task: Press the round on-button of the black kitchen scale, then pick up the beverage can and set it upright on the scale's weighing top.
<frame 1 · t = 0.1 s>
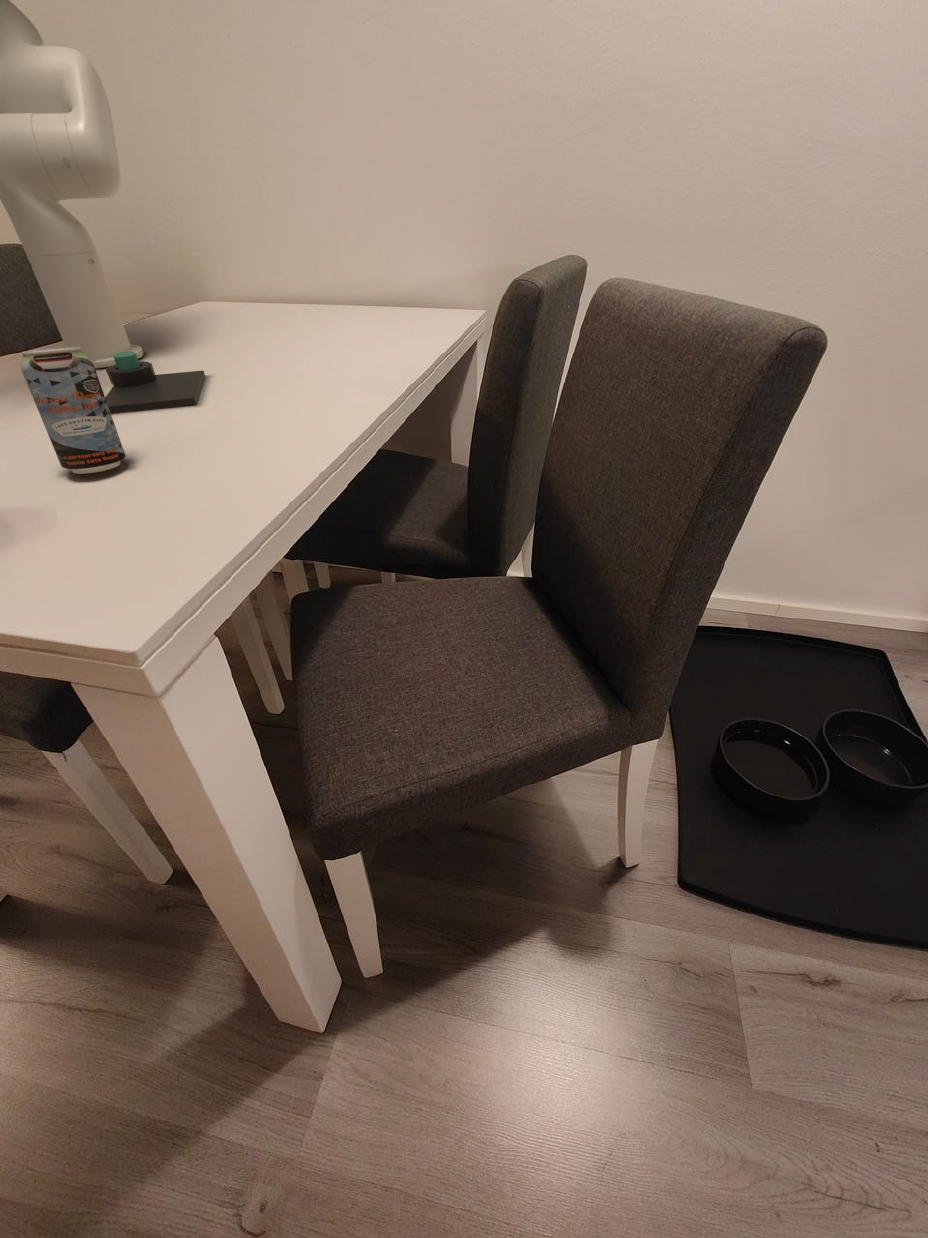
scale: (157, 394, 81), on the table
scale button: (127, 361, 82), point 4 cm above the table, slide at 0.1 cm
beverage can: (101, 469, 61), on the table
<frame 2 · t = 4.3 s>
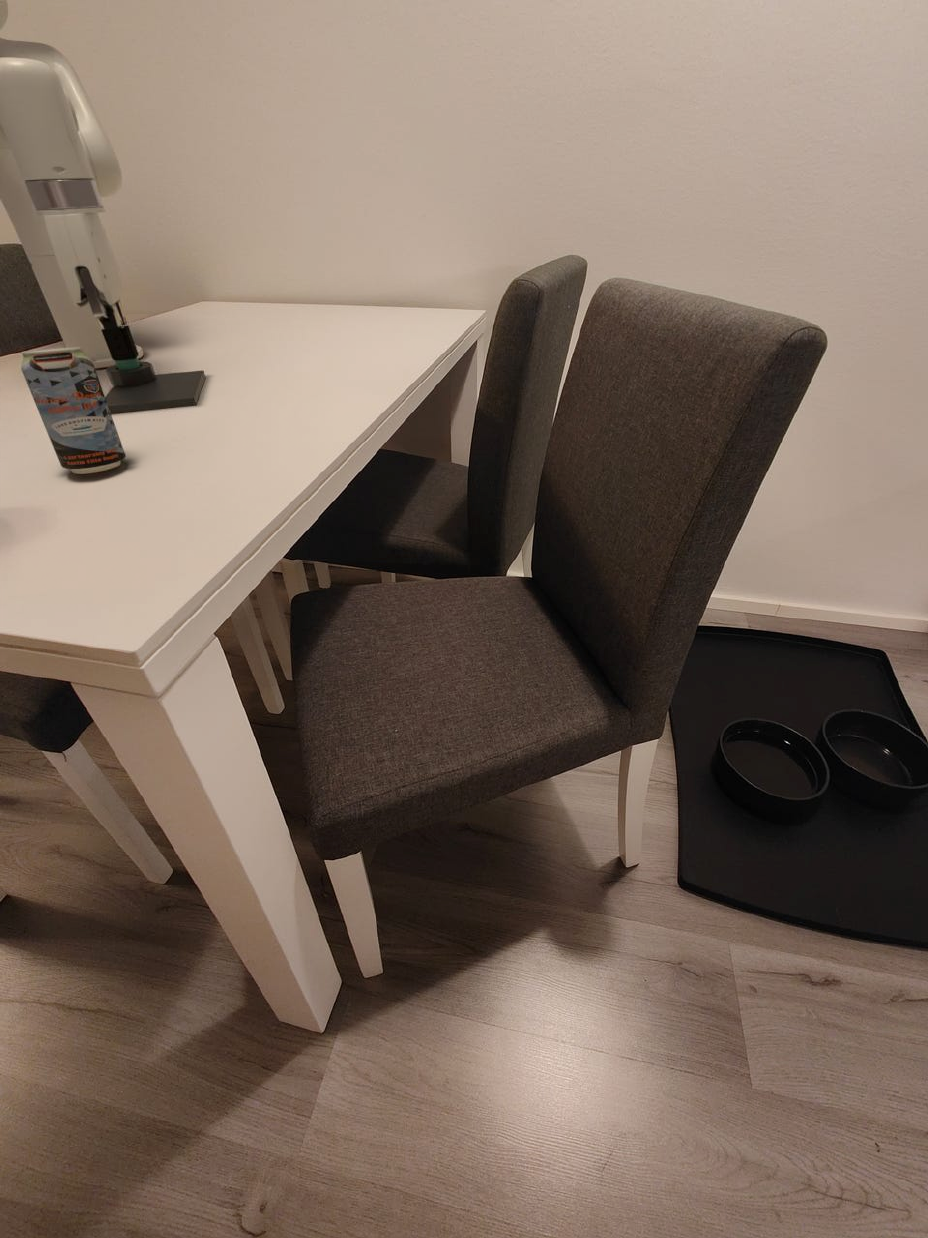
hand: (126, 357, 81), 4 cm above the table, tool pointing down, fingers closed
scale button: (128, 365, 82), point 3 cm above the table, slide at -0.4 cm, touching gripper
everything else where it was.
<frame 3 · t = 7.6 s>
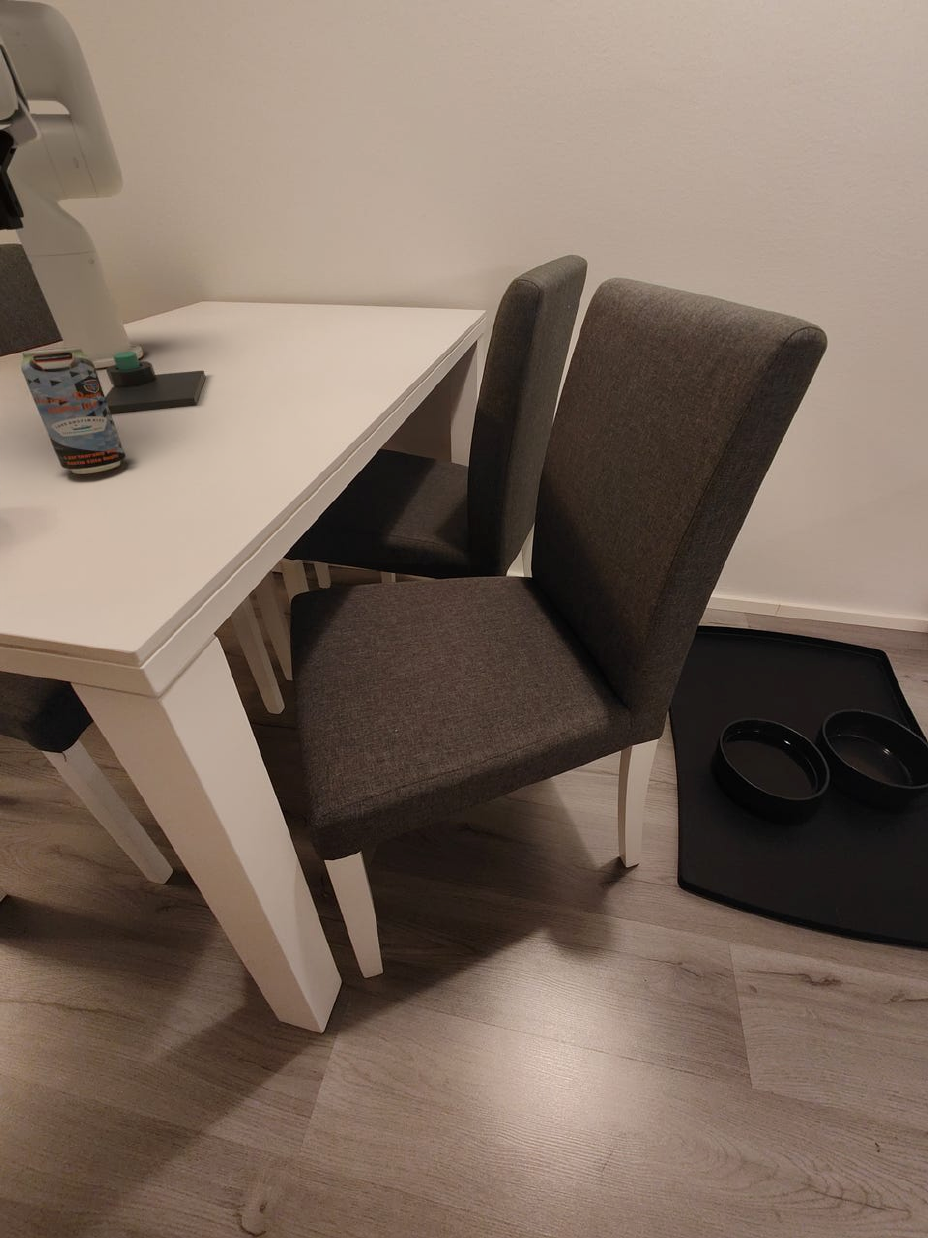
hand: (8, 228, 51), 21 cm above the table, tool pointing down, fingers closed
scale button: (127, 361, 82), point 4 cm above the table, slide at 0.1 cm
everything else where it was.
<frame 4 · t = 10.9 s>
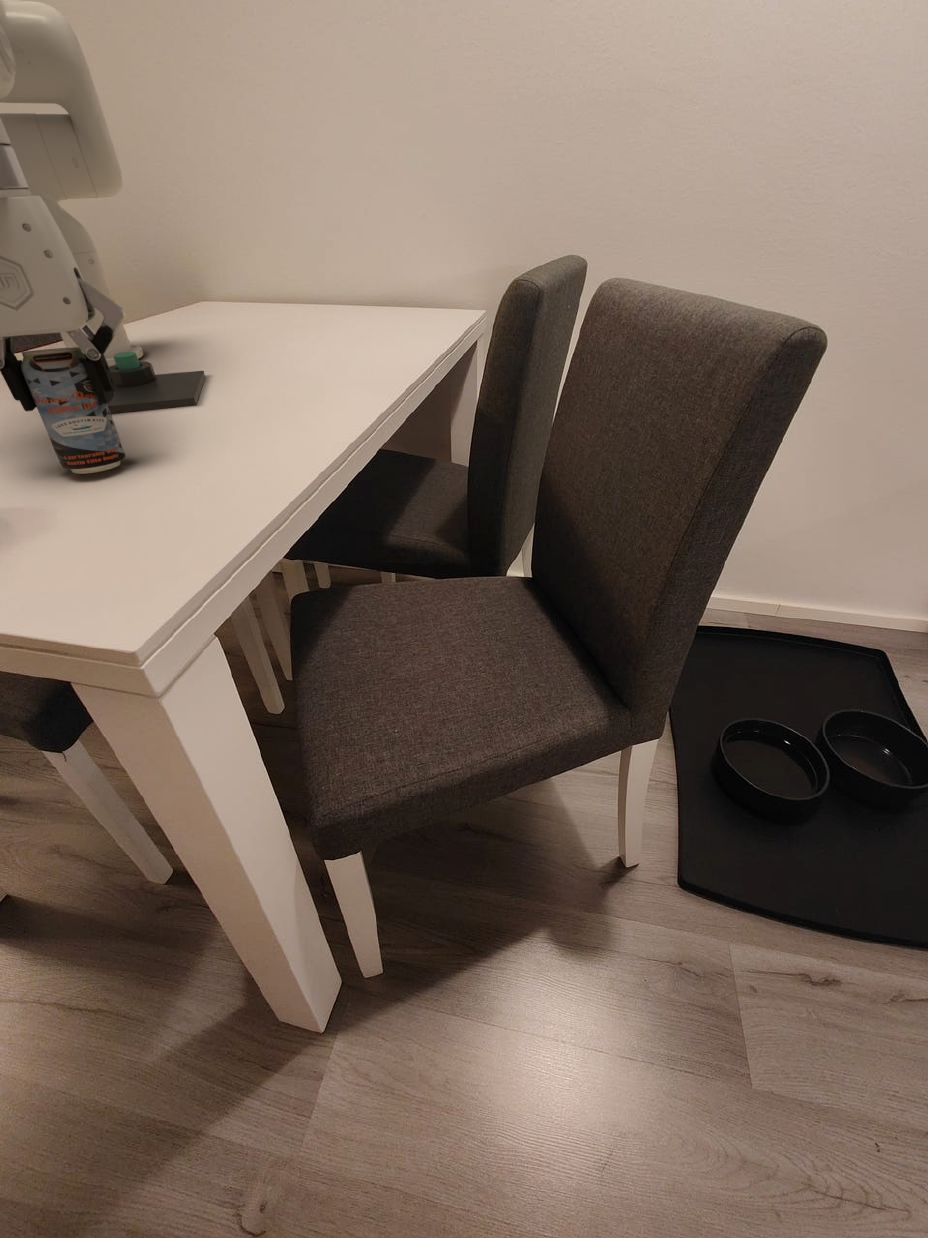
hand: (70, 401, 57), 7 cm above the table, tool pointing down, fingers closed on beverage can, 6 cm apart
beverage can: (101, 469, 61), on the table, touching gripper
everything else where it was.
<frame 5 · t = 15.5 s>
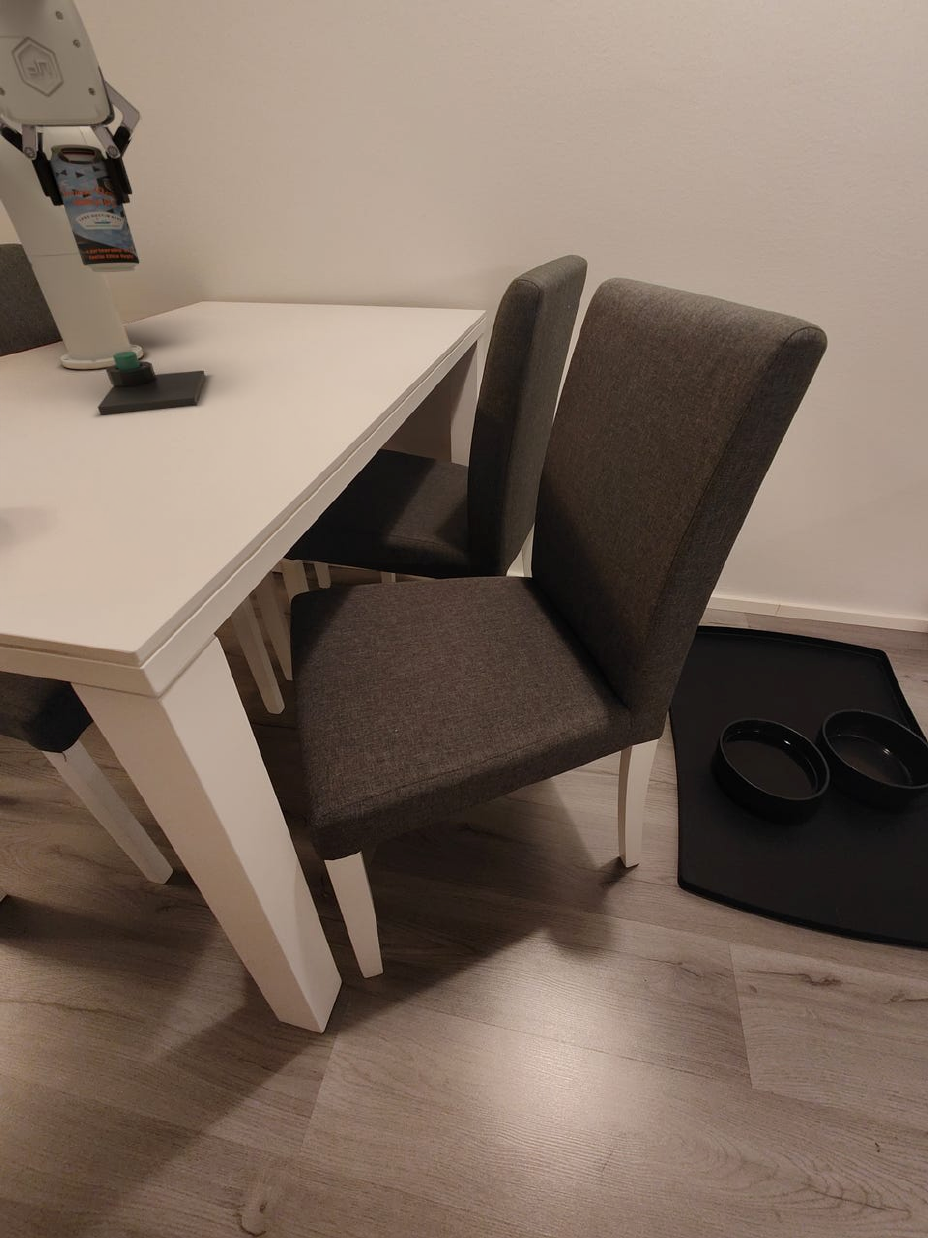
hand: (92, 202, 65), 22 cm above the table, tool pointing down, fingers closed on beverage can, 6 cm apart
beverage can: (117, 274, 69), point 15 cm above the table, touching gripper
everything else where it was.
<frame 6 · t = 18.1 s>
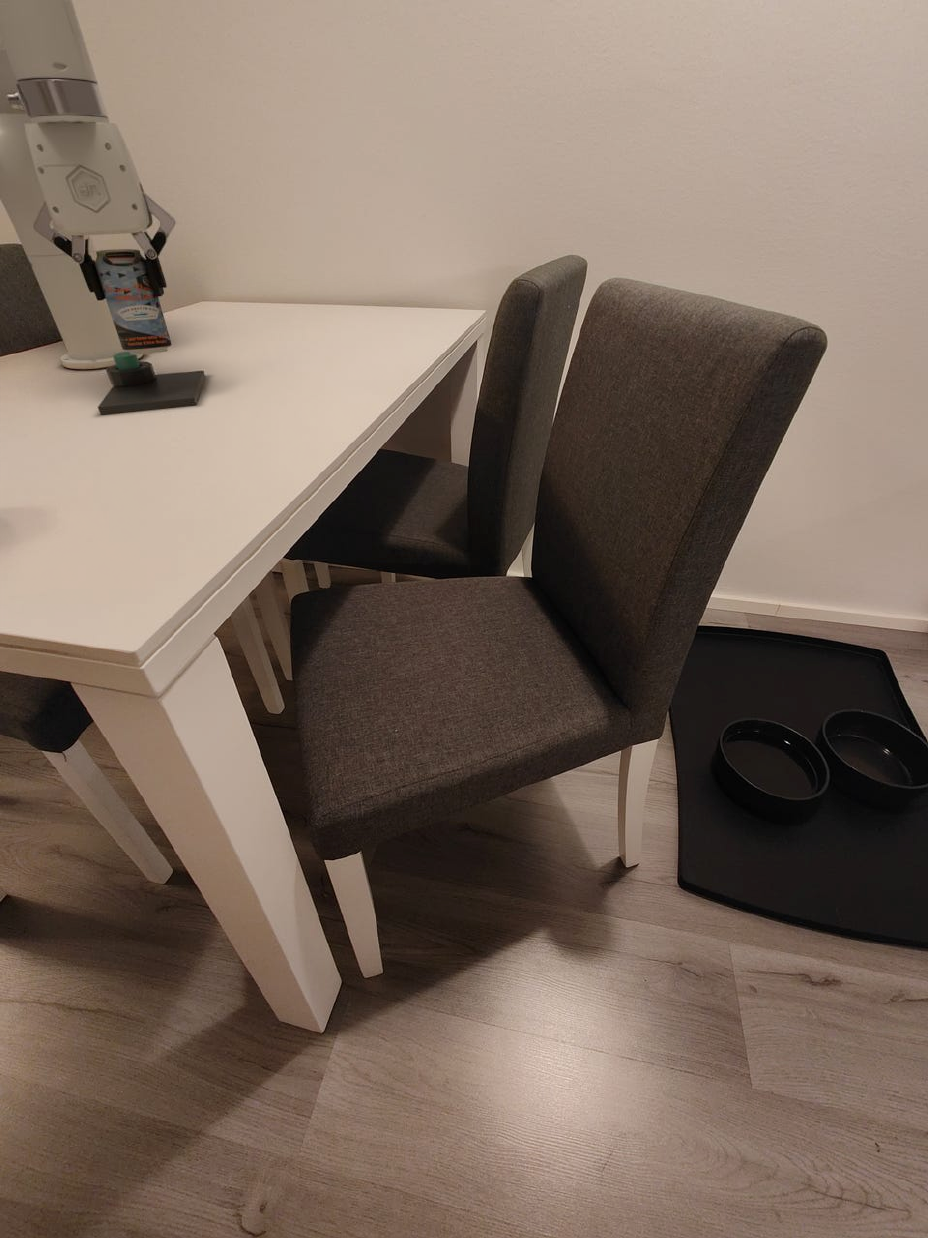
hand: (131, 295, 72), 13 cm above the table, tool pointing down, fingers closed on beverage can, 6 cm apart
beverage can: (151, 355, 76), point 6 cm above the table, touching gripper
everything else where it was.
when the fingers open (8 cm above the table, at t = 20.1 s): beverage can stays where it is, resting on scale.
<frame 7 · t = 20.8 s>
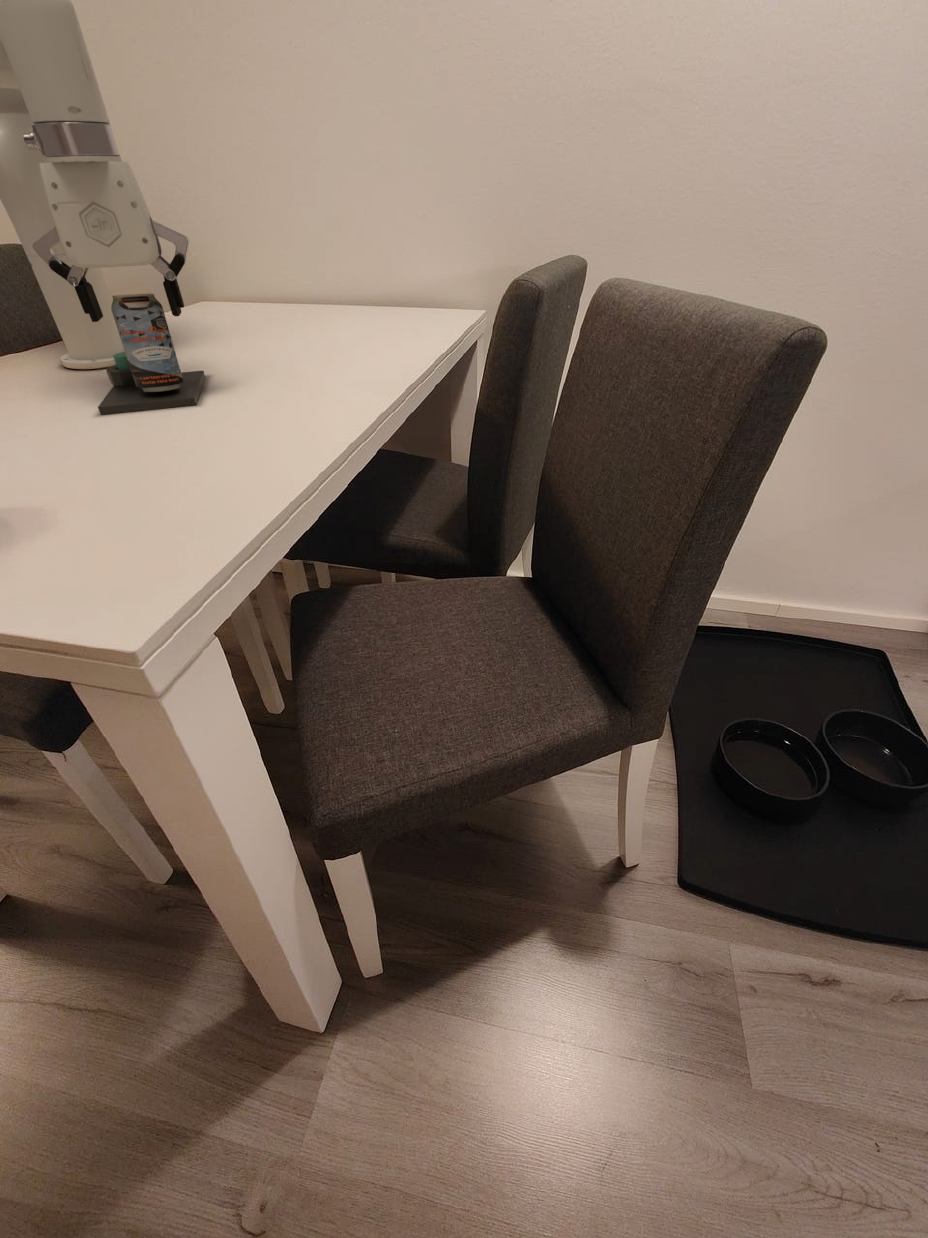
hand: (138, 316, 74), 10 cm above the table, tool pointing down, fingers open, 9 cm apart
beverage can: (164, 391, 79), point 1 cm above the table, touching scale
everything else where it was.
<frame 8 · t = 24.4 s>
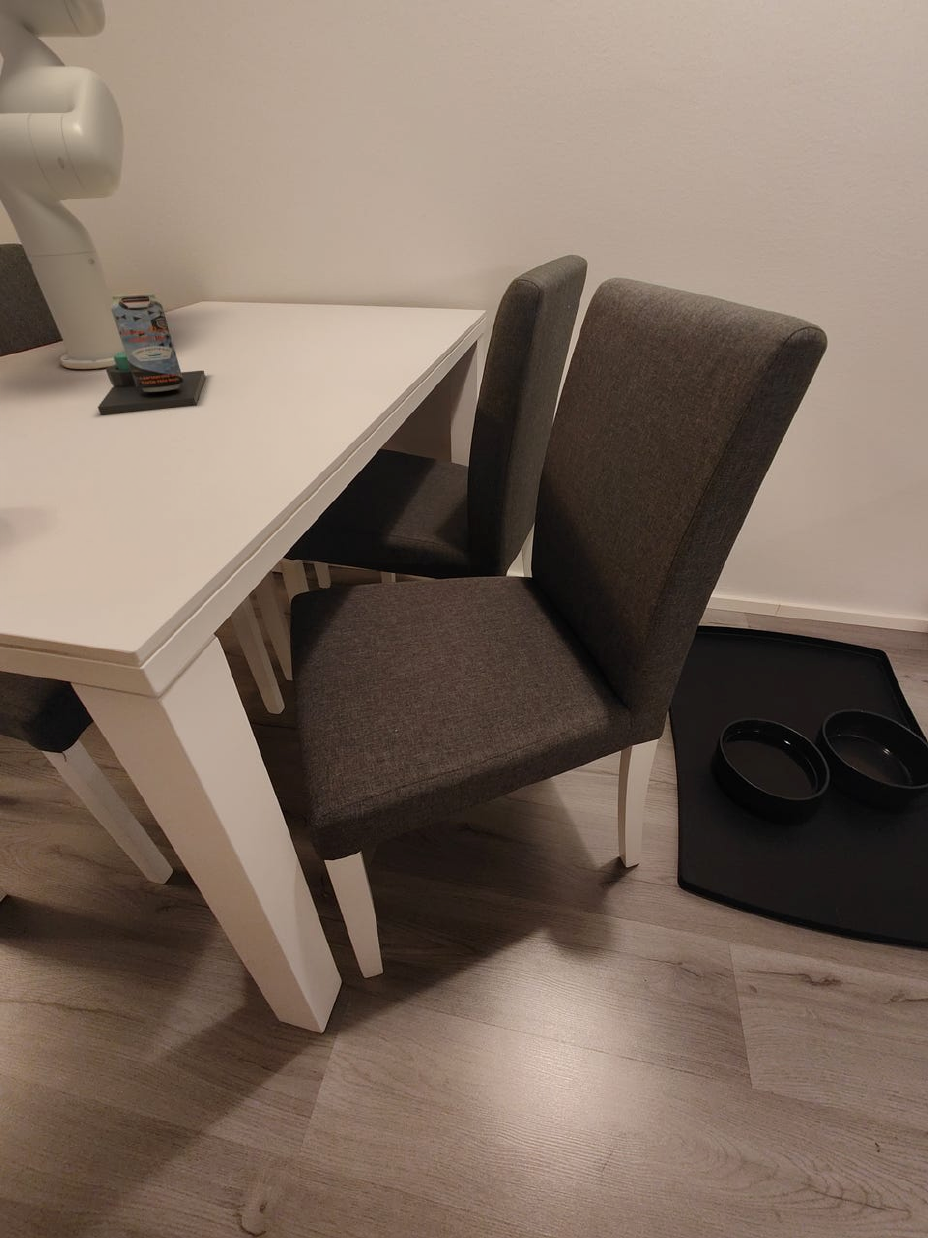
nothing on the table moved.
at the end: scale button pushed in 1.4 cm at the most during the clip, back to where it started at the end; beverage can inside the target area on the scale (1.2 cm from its centre), point 0.8 cm above the scale's base; beverage can tilted 0° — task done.
